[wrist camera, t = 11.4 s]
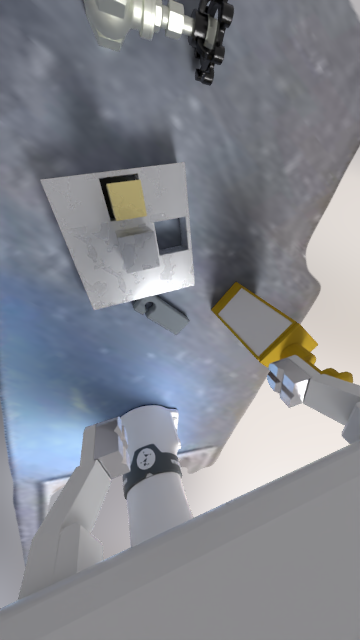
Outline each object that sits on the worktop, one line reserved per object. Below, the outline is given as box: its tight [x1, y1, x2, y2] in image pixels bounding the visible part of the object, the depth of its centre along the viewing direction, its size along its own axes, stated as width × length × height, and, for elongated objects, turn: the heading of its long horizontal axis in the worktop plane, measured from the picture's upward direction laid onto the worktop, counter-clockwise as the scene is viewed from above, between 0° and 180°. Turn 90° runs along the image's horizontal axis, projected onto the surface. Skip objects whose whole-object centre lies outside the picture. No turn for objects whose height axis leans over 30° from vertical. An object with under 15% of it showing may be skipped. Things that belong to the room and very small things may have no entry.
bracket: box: [133, 295, 189, 335], centre depth 37 cm, size 4×10×2 cm, turn 46°
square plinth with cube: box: [40, 162, 195, 310], centre depth 26 cm, size 16×16×8 cm
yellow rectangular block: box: [106, 180, 147, 221], centre depth 24 cm, size 3×3×8 cm
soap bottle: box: [211, 282, 353, 383], centre depth 34 cm, size 7×13×24 cm, turn 48°
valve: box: [84, 0, 234, 86], centre depth 18 cm, size 7×7×12 cm
